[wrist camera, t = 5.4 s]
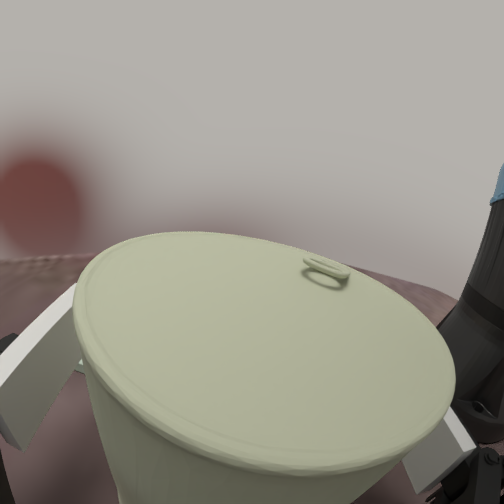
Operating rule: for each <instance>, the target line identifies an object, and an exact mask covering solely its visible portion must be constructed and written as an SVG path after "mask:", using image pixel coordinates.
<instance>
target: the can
mask: <svg viewBox="0 0 504 504" xmlns="http://www.w3.org/2000/svg"><path fill="white" fill-rule="evenodd" d="M72 317H73V323H74V329H75V334H76V337H77V340H78V343H79V346H80V352H81V357H82V363H83V368H84V372H85V377H86V382H87V387H88V391H89V396H90V400H91V405H92V409H93V413H94V417H95V420H96V424H97V428H98V431H99V435H100V438H101V442H102V445H103V449H104V452H105V455H106V458H107V461H108V464H109V467H110V470H111V473H112V476H113V479H114V482H115V484H116V487H117V490H118V499H119V503H120V504H350V503H352V502H353V501H354V500H356V499H357V498H358V497H359V496H361V495H362V494H363V493H364V492H366V491H367V490H368V489H369V488H370V487H372V486H373V485H374V484H375V483H376V482H377V481H379V480H380V479H381V478H382V477H383V476H384V475H385V474H386V473H388V472H389V471H390V470H391V469H392V468H393V467H394V466H395V465H396V464H397V463H398V462H399V461H400V460H402V459H403V458H404V457H405V456H406V455H407V454H408V453H409V452H410V451H411V450H412V449H413V448H414V447H416V446H417V445H418V444H420V443H421V442H422V441H423V440H424V439H426V438H427V437H428V436H429V435H430V434H431V433H432V432H433V431H434V430H435V429H436V427H437V426H438V425H439V424H440V422H441V421H442V419H443V418H444V416H445V414H446V413H447V411H448V409H449V406H450V404H451V402H452V399H453V395H454V391H455V383H456V376H455V367H454V362H453V358H452V356H451V353H450V350H449V348H448V346H447V344H446V342H445V340H444V339H443V337H442V336H441V334H440V333H439V331H438V330H437V329H436V327H435V326H434V325H433V324H432V323H431V322H430V321H429V320H428V318H427V317H426V316H425V315H424V314H422V313H421V312H420V311H419V310H418V309H417V308H416V307H415V306H414V305H412V304H411V303H410V302H409V301H407V300H406V299H404V298H403V297H402V296H400V295H399V294H397V293H396V292H394V291H393V290H391V289H390V288H388V287H386V286H385V285H383V284H382V283H380V282H378V281H376V280H374V279H373V278H371V277H369V276H367V275H365V274H363V273H361V272H359V271H356V270H354V269H352V268H350V267H348V266H346V265H343V264H341V263H338V262H336V261H333V260H331V259H328V258H325V257H323V256H320V255H317V254H314V253H311V252H308V251H304V250H302V249H298V248H294V247H291V246H287V245H283V244H279V243H275V242H271V241H267V240H262V239H257V238H251V237H245V236H239V235H232V234H223V233H212V232H167V233H158V234H151V235H145V236H141V237H136V238H132V239H129V240H126V241H123V242H121V243H118V244H116V245H114V246H112V247H110V248H108V249H106V250H105V251H103V252H102V253H100V254H99V255H97V256H96V257H95V258H94V259H93V260H92V261H91V262H90V263H89V264H88V265H87V266H86V268H85V269H84V270H83V272H82V273H81V275H80V278H79V280H78V282H77V284H76V287H75V291H74V296H73V303H72Z"/></svg>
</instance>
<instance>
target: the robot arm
mask: <svg viewBox="0 0 504 504" xmlns="http://www.w3.org/2000/svg"><path fill="white" fill-rule="evenodd" d="M490 206H492V208H491V211H490V215H489V219H488V222H487V226H486V229H485V232H484V235H483V238H482V242H481V245H480V248H479V250H478V253H477V256H476V259H475V262H474V264H473V267H472V270H471V272H470V275H469V277H468V280H467V283H466V285H465V287H464V290H463V292H462V295H461V297H460V299H459V301H458V302H457V304H456V305H455V306H454V308H453V309H452V310H451V311H450V312H449V313H448V314H447V315H446V317H445V318H444V319H443V320H442V321H441V322H440V323H439V324H438V326H437V327H436V329H437V330H438V331H439V333H440V334H441V336H442V337H443V339H444V340H445V342H446V344H447V346H448V348H449V350H450V353H451V356H452V358H453V362H454V367H455V376H456V383H455V391H454V395H453V399H452V402H451V404H450V406H449V409H448V411H447V413H446V414H445V416H444V418H443V419H442V421H441V422H440V424H439V425H438V426H437V427H436V429H435V430H434V431H433V432H432V433H431V434H430V435H429V436H428V437H427V438H426V439H424V440H423V441H422V442H421V443H420V444H418V445H417V446H416V447H414V448H413V449H412V450H411V451H410V452H409V453H408V454H407V455H406V456H405V457H404V458H403V459H402V462H403V465H404V467H405V469H406V472H407V474H408V476H409V479H410V481H411V483H412V486H413V488H414V491H415V493H416V495H417V494H420V493H423V492H426V491H429V490H431V489H432V488H433V487H435V486H436V485H437V484H438V483H439V482H441V484H442V487H440V488H439V489H438V490H437V491H436V492H434V493H433V494H432V495H430V496H429V497H428V498H427V499H426V501H425V502H428V501H430V500H431V499H432V498H434V497H436V498H435V499H434V500H433V501H432V502H431V503H430V504H504V494H503V495H502V496H501V497H500V492H501V490H502V489H503V488H504V455H502V456H499V454H498V453H497V452H496V451H495V450H494V449H492V448H489V447H485V448H482V449H481V447H480V446H479V445H478V443H477V442H481V443H493V442H497V441H500V440H502V439H504V164H503V165H502V167H501V169H500V172H499V177H498V181H497V185H496V189H495V192H494V196H493V197H492V198H491V200H490ZM76 284H77V283H75V284H74V285H73V286H71V287H70V288H69V289H68V290H67V291H66V292H65V293H63V294H62V295H61V296H60V297H59V298H58V299H57V300H56V301H55V302H54V303H52V304H51V305H50V306H49V307H48V308H47V309H46V310H45V311H44V312H43V313H42V314H41V315H40V316H39V317H38V318H36V319H35V320H34V321H33V322H32V323H31V324H30V325H29V326H28V327H27V328H26V329H25V330H24V331H23V332H22V333H21V334H20V335H17V334H15V333H12V334H10V335H8V336H6V337H4V338H2V339H1V340H0V433H1V434H2V436H3V438H4V439H5V441H6V442H7V443H8V444H10V445H12V446H13V447H15V448H17V449H18V450H20V451H22V452H23V453H25V451H26V449H27V447H28V445H29V443H30V442H31V440H32V438H33V436H34V434H35V433H36V431H37V429H38V427H39V426H40V424H41V422H42V420H43V419H44V417H45V415H46V414H47V412H48V410H49V409H50V407H51V405H52V404H53V402H54V400H55V399H56V397H57V396H58V394H59V392H60V391H61V389H62V388H63V386H64V385H65V383H66V381H67V380H68V378H69V377H70V375H71V374H72V372H73V371H74V369H75V368H76V366H77V365H78V363H79V362H80V360H81V359H82V357H81V352H80V346H79V343H78V340H77V337H76V334H75V329H74V323H73V317H72V303H73V296H74V291H75V287H76ZM0 504H15V501H14V498H13V495H12V492H11V489H10V486H9V482H8V479H7V475H6V471H5V468H4V464H3V459H2V455H1V450H0Z"/></svg>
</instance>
